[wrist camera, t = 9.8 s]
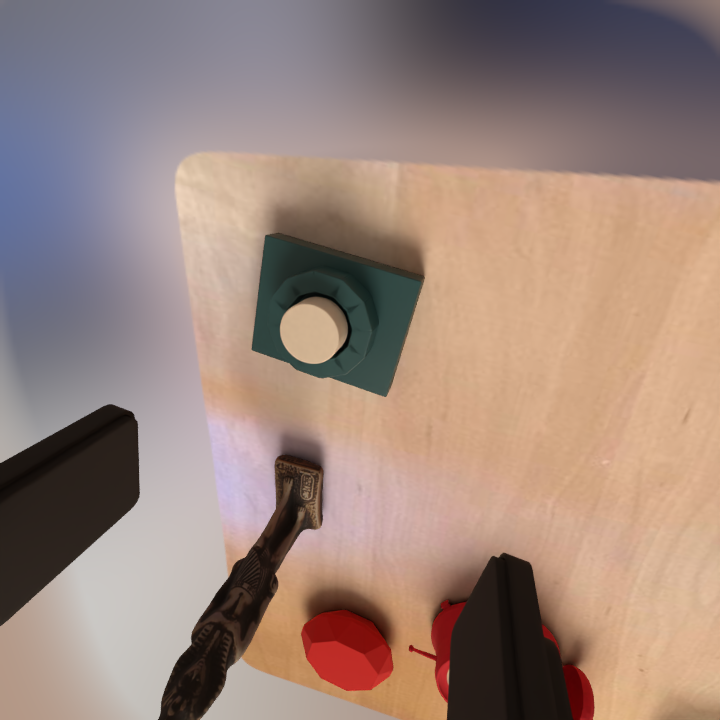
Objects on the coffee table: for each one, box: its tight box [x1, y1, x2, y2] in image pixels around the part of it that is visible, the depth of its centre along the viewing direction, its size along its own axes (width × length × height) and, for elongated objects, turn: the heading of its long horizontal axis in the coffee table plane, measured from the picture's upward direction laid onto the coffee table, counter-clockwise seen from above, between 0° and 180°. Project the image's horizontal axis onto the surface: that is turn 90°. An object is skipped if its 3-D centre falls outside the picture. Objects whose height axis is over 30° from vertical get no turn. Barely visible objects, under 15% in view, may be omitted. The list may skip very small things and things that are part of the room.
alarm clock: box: [409, 600, 594, 720], centre depth 31 cm, size 10×6×15 cm
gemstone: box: [301, 609, 393, 691], centre depth 37 cm, size 9×9×3 cm
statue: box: [158, 455, 323, 720], centre depth 24 cm, size 4×7×20 cm, turn 177°
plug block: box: [252, 233, 425, 397], centre depth 24 cm, size 8×10×4 cm
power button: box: [280, 297, 348, 364], centre depth 22 cm, size 4×4×2 cm
